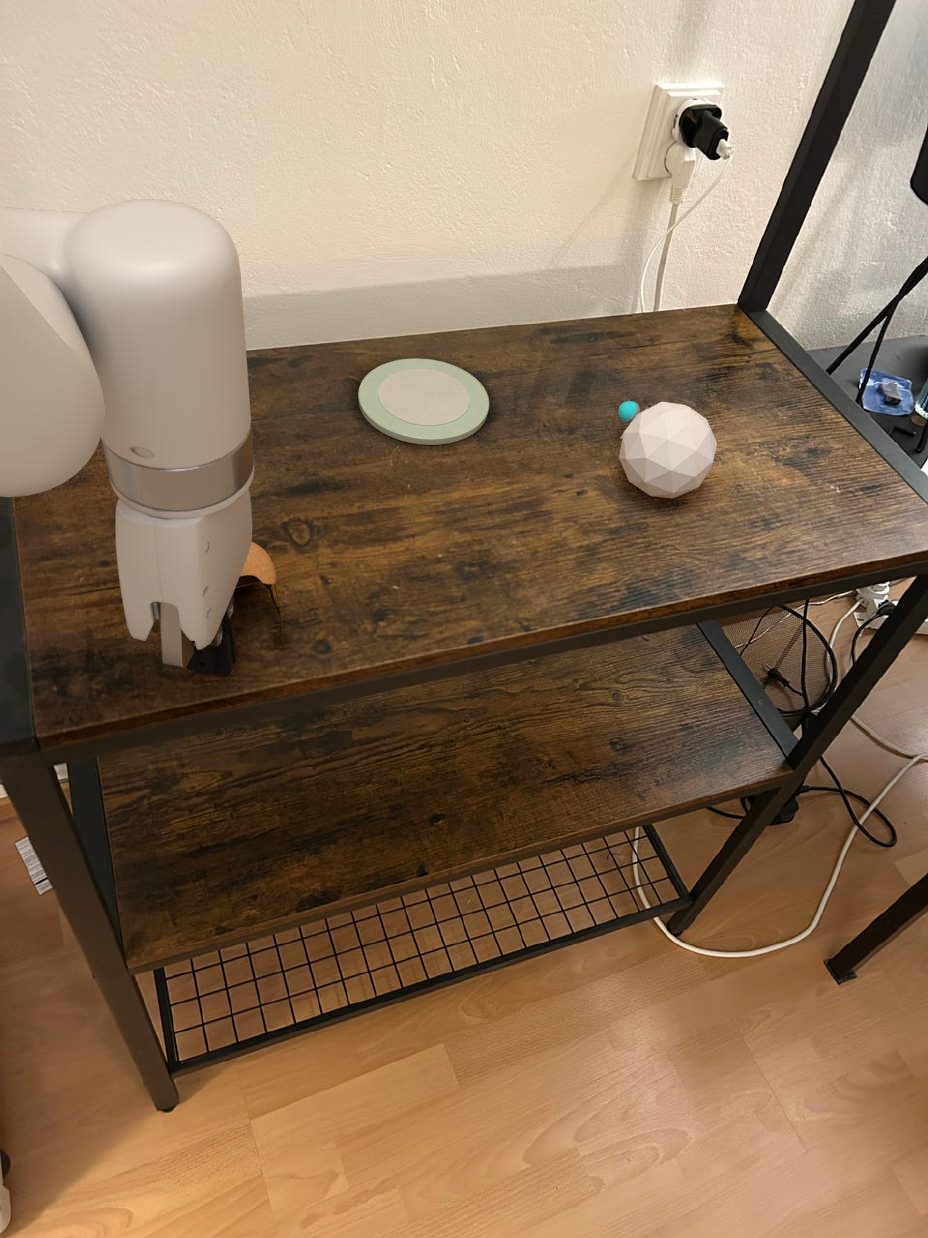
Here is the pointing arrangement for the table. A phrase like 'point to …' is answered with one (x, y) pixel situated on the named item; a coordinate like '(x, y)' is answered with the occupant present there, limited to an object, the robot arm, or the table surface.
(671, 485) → the perfume bottle
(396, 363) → the plate
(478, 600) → the table surface
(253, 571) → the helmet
